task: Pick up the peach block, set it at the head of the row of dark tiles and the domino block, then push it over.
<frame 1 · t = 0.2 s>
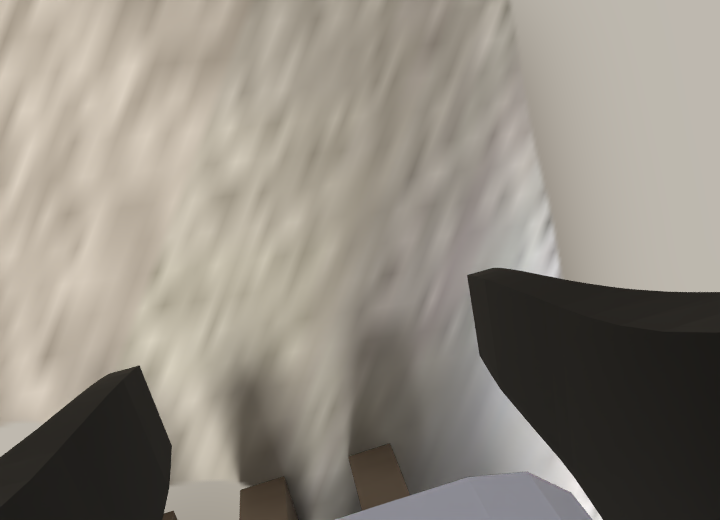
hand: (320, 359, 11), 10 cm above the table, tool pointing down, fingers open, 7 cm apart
dark tile 1: (379, 492, 25), on the table
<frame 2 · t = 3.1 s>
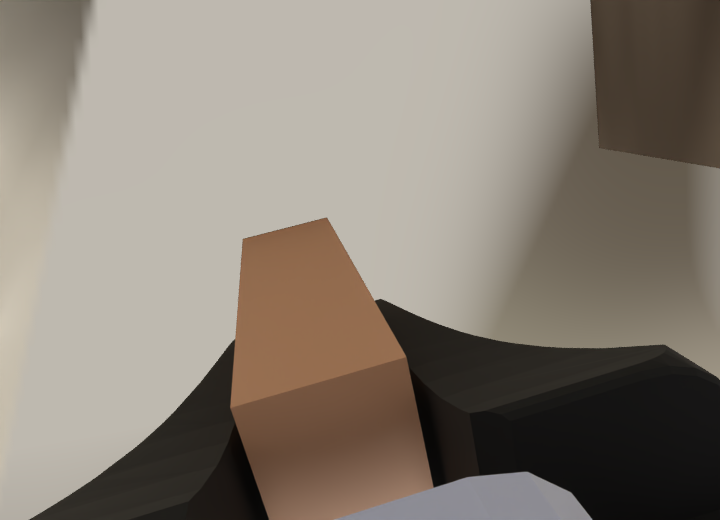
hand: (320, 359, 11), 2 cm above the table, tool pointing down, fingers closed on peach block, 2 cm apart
domino block 4: (631, 32, 13), on the table
peach block: (310, 322, 13), on the table, touching gripper
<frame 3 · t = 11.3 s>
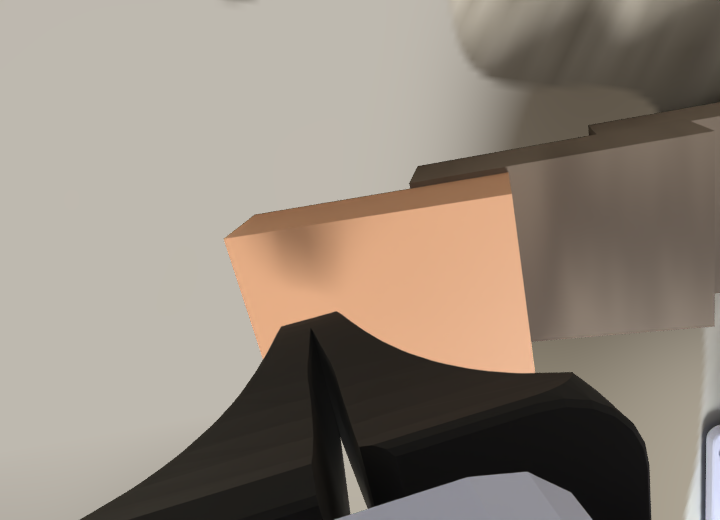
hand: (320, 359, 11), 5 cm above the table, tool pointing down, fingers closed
domino block 4: (429, 257, 16), point 1 cm above the table, tilted 67°, touching dark tile 3, peach block
peach block: (266, 308, 15), point 1 cm above the table, tilted 67°, touching domino block 4
dark tile 3: (599, 213, 16), point 1 cm above the table, tilted 65°, touching domino block 4
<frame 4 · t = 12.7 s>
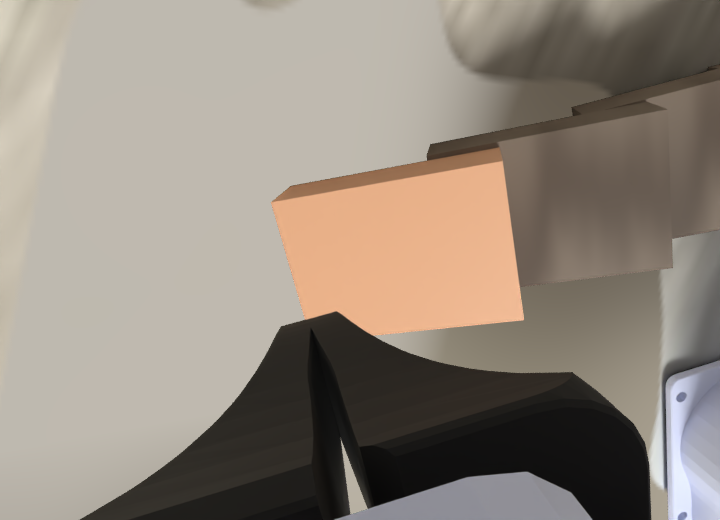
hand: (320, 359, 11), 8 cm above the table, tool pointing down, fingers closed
domino block 4: (441, 219, 19), point 1 cm above the table, tilted 68°, touching dark tile 3, peach block
peach block: (301, 263, 18), point 1 cm above the table, tilted 67°, touching domino block 4
dark tile 3: (587, 179, 19), point 1 cm above the table, tilted 69°, touching domino block 4
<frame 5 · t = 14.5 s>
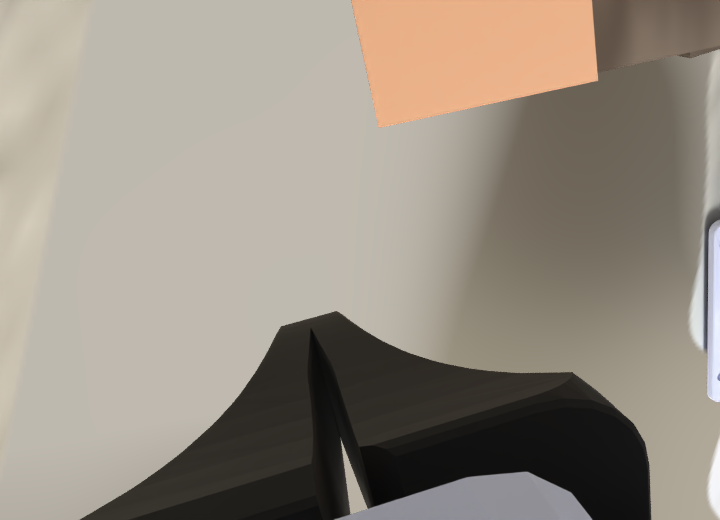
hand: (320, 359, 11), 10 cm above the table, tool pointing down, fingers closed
domino block 4: (513, 13, 19), point 1 cm above the table, tilted 70°, touching dark tile 3, peach block
peach block: (367, 50, 18), point 1 cm above the table, tilted 69°, touching domino block 4
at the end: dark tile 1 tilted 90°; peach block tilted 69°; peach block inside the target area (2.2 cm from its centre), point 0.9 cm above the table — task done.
